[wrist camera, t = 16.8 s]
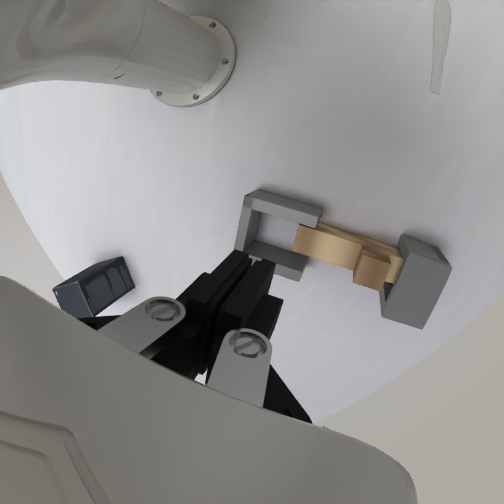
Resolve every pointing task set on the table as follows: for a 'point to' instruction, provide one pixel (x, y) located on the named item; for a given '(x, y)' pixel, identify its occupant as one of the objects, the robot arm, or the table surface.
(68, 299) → the box
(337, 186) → the table surface
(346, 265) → the slat
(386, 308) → the channel bracket
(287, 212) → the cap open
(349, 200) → the table surface
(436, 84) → the butter knife
